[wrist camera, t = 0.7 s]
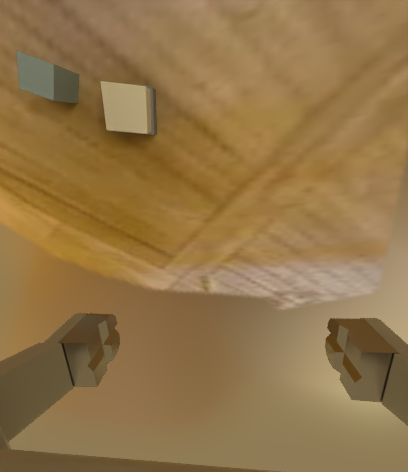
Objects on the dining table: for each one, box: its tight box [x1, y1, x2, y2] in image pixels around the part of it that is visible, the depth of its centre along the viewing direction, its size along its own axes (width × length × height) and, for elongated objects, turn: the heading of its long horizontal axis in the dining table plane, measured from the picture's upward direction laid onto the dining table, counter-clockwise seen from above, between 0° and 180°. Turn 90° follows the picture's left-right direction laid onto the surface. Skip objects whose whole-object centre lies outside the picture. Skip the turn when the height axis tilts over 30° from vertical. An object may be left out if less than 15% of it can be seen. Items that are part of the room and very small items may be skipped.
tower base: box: [113, 84, 157, 135], centre depth 42 cm, size 8×8×5 cm
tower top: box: [101, 81, 151, 134], centre depth 37 cm, size 7×7×5 cm
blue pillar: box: [17, 50, 79, 104], centre depth 37 cm, size 5×5×9 cm
